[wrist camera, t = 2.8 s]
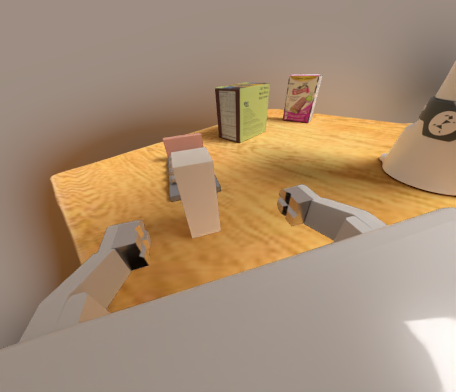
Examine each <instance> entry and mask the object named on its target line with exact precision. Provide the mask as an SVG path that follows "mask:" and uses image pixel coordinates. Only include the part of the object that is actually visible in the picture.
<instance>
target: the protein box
mask: <svg viewBox="0 0 456 392" xmlns="http://www.w3.org/2000/svg"><path fill="white" fill-rule="evenodd" d="M269 86H270V83H241V84H234V85H229V86H222V87H217V88H215V93H216V103H217V116H218V129H219V137H220V138H224V139H228V140H231V141H235V142H238V143H241V142H243V141H246V140H248V139H250V138H252V137H254V136H257V135H259V134H261V133H263V132H265V131H266V121H267V109H268V97H269Z"/></svg>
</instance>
